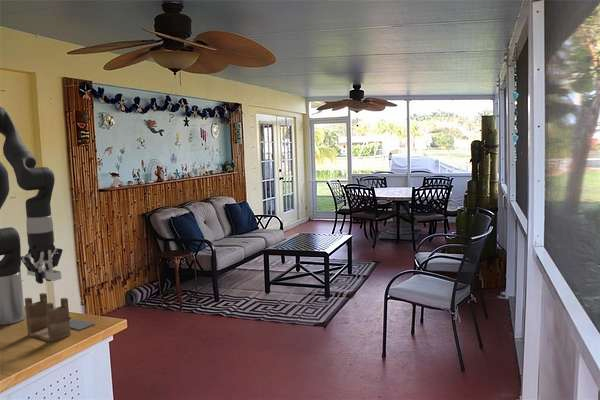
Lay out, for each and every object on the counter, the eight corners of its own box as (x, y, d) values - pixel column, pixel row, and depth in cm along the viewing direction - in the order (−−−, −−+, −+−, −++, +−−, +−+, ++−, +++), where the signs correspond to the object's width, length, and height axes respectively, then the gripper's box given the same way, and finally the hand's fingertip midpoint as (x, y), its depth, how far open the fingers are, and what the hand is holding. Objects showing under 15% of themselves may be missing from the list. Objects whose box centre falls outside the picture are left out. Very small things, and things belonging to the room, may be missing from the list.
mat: (60, 325, 174) (60, 324, 173) (75, 319, 179) (75, 318, 179) (79, 330, 169) (79, 329, 169) (94, 324, 174) (94, 323, 174)
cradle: (28, 334, 166) (24, 298, 164) (46, 328, 171) (42, 292, 170) (52, 342, 160) (49, 304, 158) (70, 335, 165) (67, 298, 163)
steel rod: (27, 274, 165) (26, 267, 165) (34, 272, 167) (33, 265, 167) (54, 280, 158) (53, 273, 158) (61, 278, 160) (60, 271, 160)
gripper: (52, 225, 168) (56, 275, 171) (11, 232, 156) (16, 286, 159) (67, 227, 165) (70, 278, 167) (26, 235, 153) (31, 289, 155)
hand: (44, 281), depth 163 cm, fingers closed on steel rod, 2 cm apart
